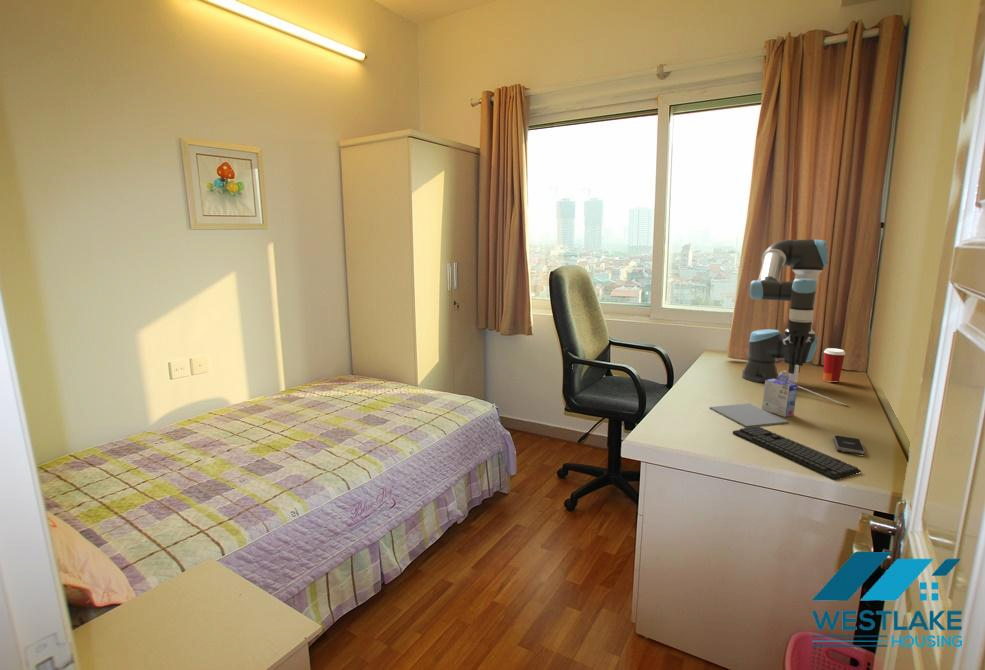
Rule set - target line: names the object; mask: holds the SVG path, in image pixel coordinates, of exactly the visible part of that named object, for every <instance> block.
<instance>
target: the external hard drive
mask: <svg viewBox="0 0 985 670" xmlns="http://www.w3.org/2000/svg"><path fill="white" fill-rule="evenodd" d="M833 442H834V445H835V448H836V450H837V452H838V453H841V454H842V453H843V454H848V455H853V454H854V455H855V456H859V455H864V456H865V453H866V449H865V448H864V445H863V444H862V441H861V439H860V438H857V437H850V436H849V437H848V436H845V435H844V436H843V435H835V434H834V436H833Z"/></svg>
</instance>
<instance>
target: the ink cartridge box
mask: <svg viewBox="0 0 985 670" xmlns="http://www.w3.org/2000/svg"><path fill="white" fill-rule="evenodd" d="M778 376H779V377H778V379H768V380H765V383H764V387H763V389H764V390H763V396H762V402H761V403H762V404H761V409H763V410H765V411H767V412H769V413H772V414H774V415H777V416H781V417H784V418H786V417H791V416H792V417H793V416H794V415H795V407H796V398H797V391H798V387H797V386H799V385H798V384H797V383H794V382H791V383H789V382H790V381H788V379H789V375H788V376H787V375H786V376H784V375H780V374H778ZM780 377H784V378H785V380H784V379H780ZM787 381H788V382H787Z"/></svg>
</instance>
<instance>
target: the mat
mask: <svg viewBox="0 0 985 670" xmlns="http://www.w3.org/2000/svg"><path fill="white" fill-rule="evenodd" d="M711 409H712V410H711ZM709 410H711V411H713V410H714V411H713V412H715V411H716V412H715V413H718V414H719V415H721V416H722V417H723V416H724V417H725V418H727V419H729V420H730V421H733V422H735V423H737V424H738V425H741V426H742V427H744V428H747V427H752V426H759V427H764V426H773V425H774V426H775V425H779V424H782V423H783V424H789V423H790V421H789V420H787V419H785V418H782V417H780V416H779V415H777V414H775V413H772V412H768V411H765V410H763V409H762V408H760V407H759V406H756V405H753V404H752V403H739V404H728V405H720V406H718V405H717V406H709Z"/></svg>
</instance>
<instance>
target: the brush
mask: <svg viewBox="0 0 985 670" xmlns="http://www.w3.org/2000/svg"><path fill="white" fill-rule="evenodd" d="M787 371H788V370H782V371H781V372H779V375H784V376H787ZM780 379H784V380H786V378H784V377H780ZM787 382H789V383H792V382H791V381H788V380H787ZM797 388H798V389H801V390H804V391H807V392H809V393H812V394H814V395H817V396H819V397H821V398H824V399H827V400H829V401H832V402H834V403H836V404H839V405H841V404H844V405H847V404H845V403H843V402H841V401H838V400H835V399H832V398H831V397H828V396H825V395H822V394H821V393H818V392H816V391H815V392H814V391H812V390H810V389H808V388H805V387H802V386H799V385H798V386H797ZM844 405H843V406H844Z"/></svg>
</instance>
